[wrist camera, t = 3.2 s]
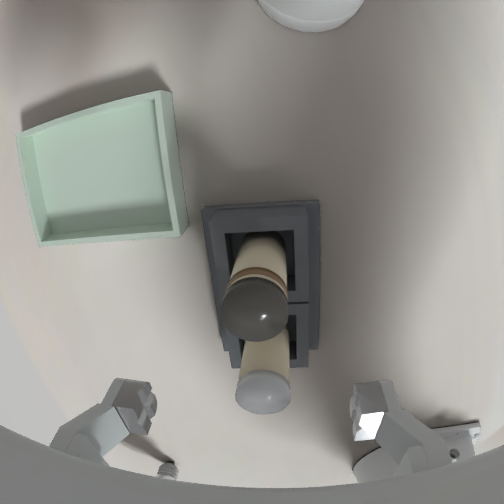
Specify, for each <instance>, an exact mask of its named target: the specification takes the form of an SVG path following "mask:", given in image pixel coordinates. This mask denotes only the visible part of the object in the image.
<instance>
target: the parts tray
mask: <svg viewBox="0 0 504 504" xmlns="http://www.w3.org/2000/svg"><path fill="white" fill-rule="evenodd" d="M15 136H16V143H17V150H18V157H19V163H20V169H21V174H22V179H23V184H24V189H25V194H26V198H27V203H28V207H29V211H30V215H31V219H32V223H33V227H34V231H35V234H36V238H37V241H38V245H39V247H45V246H57V245H69V244H82V243H95V242H108V241H122V240H136V239H151V238H166V237H181V235H182V234H183V233H184V231H185V230H186V229H187V228H188V226H189V222H188V215H187V209H186V202H185V195H184V189H183V182H182V174H181V167H180V159H179V152H178V144H177V135H176V127H175V118H174V109H173V99H172V92H169V91H163V90H158V91H153V92H149V93H144V94H140V95H136V96H131V97H127V98H123V99H119V100H116V101H112V102H108V103H105V104H101V105H98V106H94V107H91V108H88V109H84V110H81V111H78V112H75V113H72V114H69V115H66V116H63V117H60V118H57V119H54V120H51V121H49V122H46V123H43V124H41V125H38V126H35V127H33V128H30V129H28V130H25V131H23V132H21V133H18V134H16V135H15Z"/></svg>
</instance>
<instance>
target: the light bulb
mask: <svg viewBox="0 0 504 504" xmlns="http://www.w3.org/2000/svg"><path fill="white" fill-rule="evenodd" d="M158 471H159V472H158V473H157V474H158V475H156V476H155V477H159V478H164V479H170V480H176V479H177V476H178V473H179V470H178V469H177V467H176V466H175V465H174V463H172V462H167V463H164V464H162V465H161V466H160V467H159V470H158Z"/></svg>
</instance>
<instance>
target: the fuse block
mask: <svg viewBox="0 0 504 504" xmlns="http://www.w3.org/2000/svg"><path fill="white" fill-rule="evenodd" d="M201 212H202V219H203V226H204V233H205V239H206V246H207V253H208V259H209V265H210V272H211V278H212V284H213V290H214V296H215V302H216V308H217V314H218V319H219V325H220V331H221V336H222V342H223V347H224V351H229V355H230V361H231V366H232V368H241V362H242V356H243V350H244V344H245V340H243V339H240V338H238V337H236V336H234V335H233V334H231V333H230V332H229V331H228V330H227V329H226V328H225V326H224V325H223V323H222V320H221V317H220V308H221V304H222V301H223V298H224V295H225V291H226V288H227V285H228V282H229V281H230V278H231V274H232V271H233V268H234V264H235V261H236V258H237V255H238V251H239V248H240V245H241V242H242V239H243V238H244V236H245V235H246V234H247V233H248V232H262V231H276V232H277V233H279V234H280V235H281V237H282V238H283V240H284V242H285V245H286V266H287V290H288V318H289V364H290V368H296V367H308V350H310V349H318V342H319V314H320V203H319V201H318V200H307V201H285V202H266V203H250V204H234V205H220V206H207V207H204V208H203V209H202V210H201Z"/></svg>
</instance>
